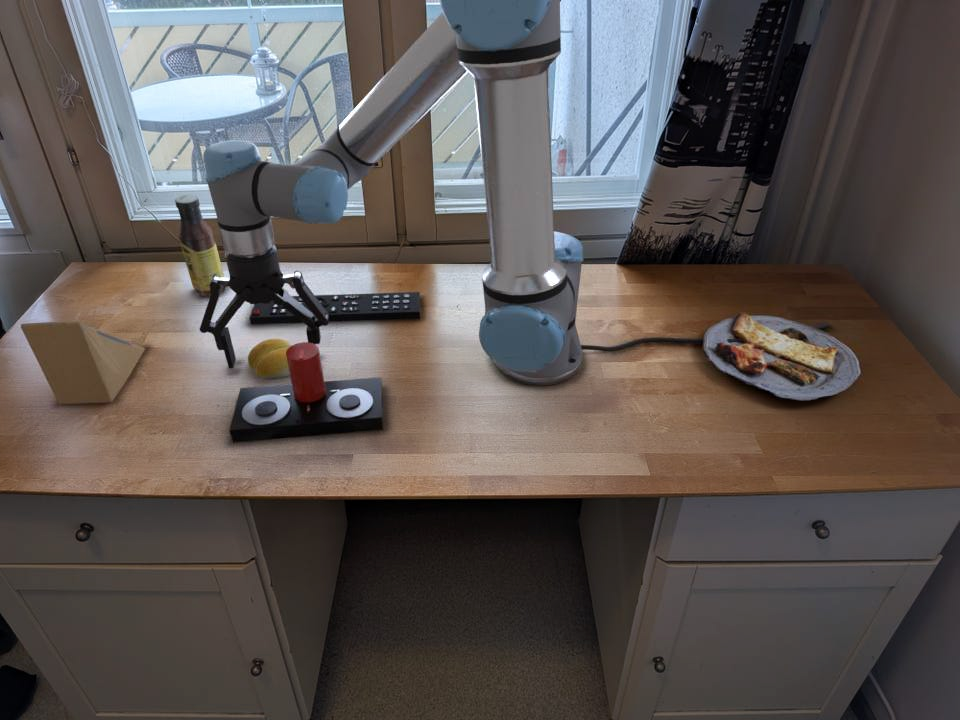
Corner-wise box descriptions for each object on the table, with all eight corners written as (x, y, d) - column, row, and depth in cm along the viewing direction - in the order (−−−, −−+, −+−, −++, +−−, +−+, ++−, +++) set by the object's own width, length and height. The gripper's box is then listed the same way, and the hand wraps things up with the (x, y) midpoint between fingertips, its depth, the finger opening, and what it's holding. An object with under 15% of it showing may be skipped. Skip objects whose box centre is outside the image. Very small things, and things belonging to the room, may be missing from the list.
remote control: (257, 303, 128) (255, 295, 127) (419, 298, 130) (419, 289, 129) (249, 324, 122) (247, 315, 120) (420, 318, 124) (419, 309, 123)
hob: (382, 383, 107) (380, 370, 106) (383, 429, 98) (381, 416, 96) (245, 393, 105) (241, 380, 103) (232, 442, 95) (228, 429, 94)
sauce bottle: (195, 285, 134) (169, 192, 122) (227, 281, 135) (204, 189, 123) (193, 300, 128) (166, 205, 117) (227, 296, 130) (203, 201, 118)
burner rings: (372, 388, 102) (372, 385, 102) (373, 416, 97) (372, 413, 96) (246, 397, 100) (245, 394, 100) (238, 428, 94) (237, 424, 94)
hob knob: (295, 384, 103) (287, 341, 98) (326, 382, 103) (319, 339, 98) (292, 404, 99) (283, 359, 94) (325, 401, 99) (317, 357, 94)
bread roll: (266, 387, 106) (262, 367, 104) (243, 363, 112) (238, 343, 109) (311, 368, 111) (308, 348, 108) (287, 345, 116) (283, 326, 114)
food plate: (676, 359, 113) (680, 343, 111) (739, 311, 127) (743, 295, 125) (820, 427, 99) (827, 409, 97) (873, 364, 113) (881, 347, 111)
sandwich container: (147, 347, 115) (121, 272, 106) (113, 402, 103) (80, 322, 94) (97, 349, 115) (66, 273, 106) (57, 404, 102) (18, 324, 93)
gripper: (334, 233, 103) (348, 344, 115) (169, 240, 100) (202, 353, 112) (332, 255, 97) (347, 369, 109) (157, 263, 94) (192, 379, 106)
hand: (273, 361), depth 111 cm, fingers open, 13 cm apart
